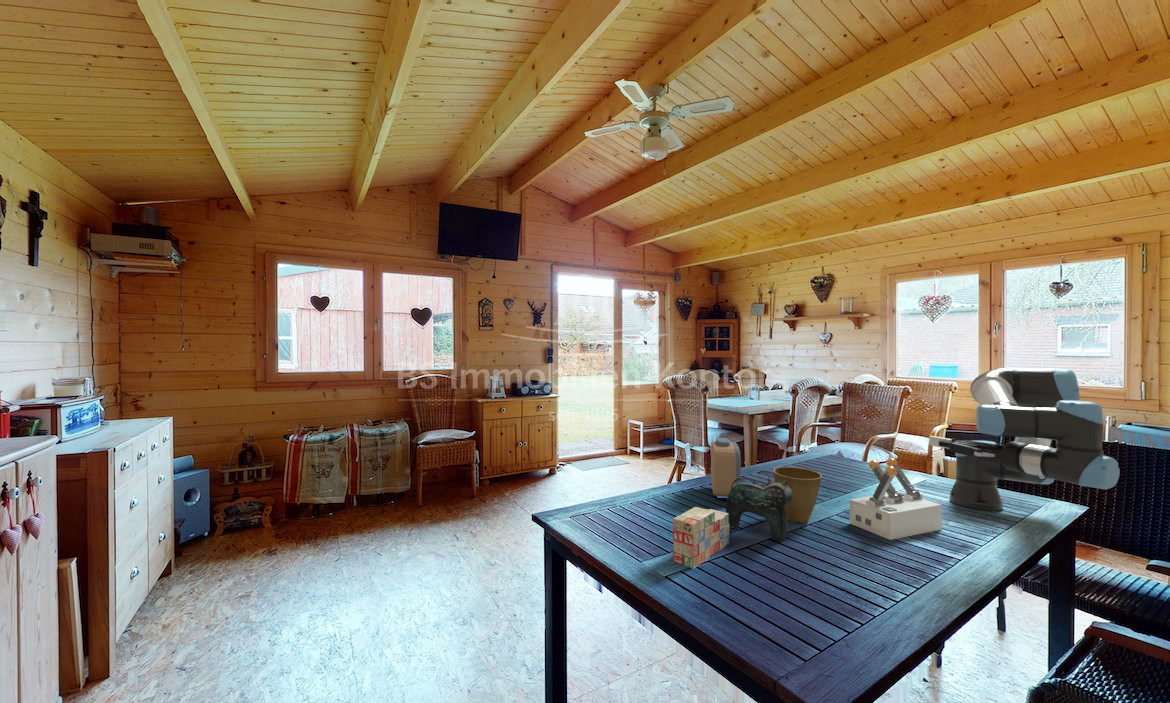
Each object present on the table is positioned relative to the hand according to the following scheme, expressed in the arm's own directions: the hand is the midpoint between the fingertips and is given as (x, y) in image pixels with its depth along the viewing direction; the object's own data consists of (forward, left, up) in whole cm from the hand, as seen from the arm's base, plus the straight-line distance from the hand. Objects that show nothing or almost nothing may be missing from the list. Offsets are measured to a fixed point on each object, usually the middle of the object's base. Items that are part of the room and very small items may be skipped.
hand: (930, 440), depth 140 cm
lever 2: (-9, -11, -22) cm, 26 cm away
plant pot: (+24, -28, -30) cm, 48 cm away
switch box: (-1, -12, -30) cm, 32 cm away
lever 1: (+8, -12, -22) cm, 26 cm away
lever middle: (-1, -11, -22) cm, 24 cm away
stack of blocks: (+69, -17, -31) cm, 78 cm away
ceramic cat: (+45, -23, -31) cm, 59 cm away
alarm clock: (+30, -59, -30) cm, 73 cm away
